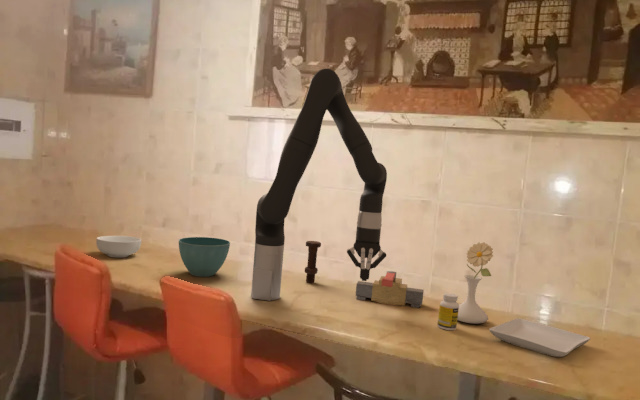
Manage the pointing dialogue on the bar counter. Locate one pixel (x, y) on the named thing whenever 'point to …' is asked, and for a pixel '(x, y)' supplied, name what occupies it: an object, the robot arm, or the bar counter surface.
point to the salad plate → (538, 337)
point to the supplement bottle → (448, 312)
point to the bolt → (312, 260)
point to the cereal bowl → (118, 245)
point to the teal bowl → (203, 254)
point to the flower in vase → (475, 284)
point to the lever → (389, 279)
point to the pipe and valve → (389, 293)
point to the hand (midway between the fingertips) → (364, 280)
